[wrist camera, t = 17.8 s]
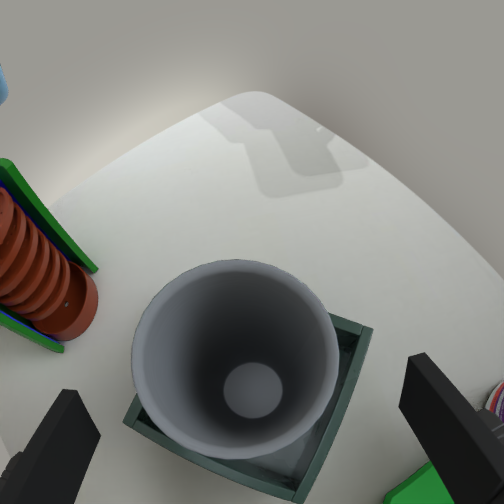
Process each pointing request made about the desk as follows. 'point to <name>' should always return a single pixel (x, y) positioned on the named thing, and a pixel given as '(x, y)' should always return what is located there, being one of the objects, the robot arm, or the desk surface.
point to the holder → (294, 455)
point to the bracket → (420, 489)
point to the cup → (235, 359)
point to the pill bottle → (497, 401)
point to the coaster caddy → (40, 269)
